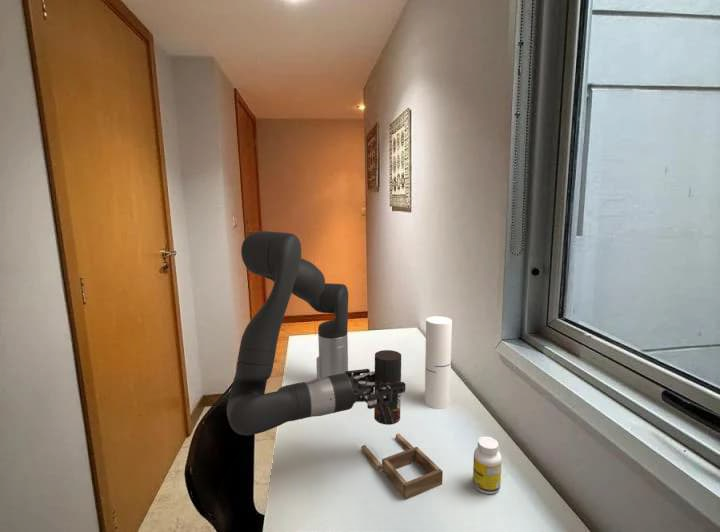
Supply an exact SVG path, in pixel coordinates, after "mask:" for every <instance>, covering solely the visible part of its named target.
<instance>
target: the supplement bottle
mask: <svg viewBox="0 0 720 532" xmlns="http://www.w3.org/2000/svg"><path fill="white" fill-rule="evenodd" d="M499 445H500V444H499V442H498V441H497V440H496V439H494V437H490V436H480V437H479V438H478V439H477V447H476V448H475V449H474V452H473V468H472V470H473V473H472V483H473V486H474V487H475V488H476V489H477V490H478V491H480V492H481V493H484V494H488V495H493V494H496V493H498V492H500V489H501V482H502V481H501V480H502V462H503V461H502V460H503V458H502V453H501V452H500V451H499Z"/></svg>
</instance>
